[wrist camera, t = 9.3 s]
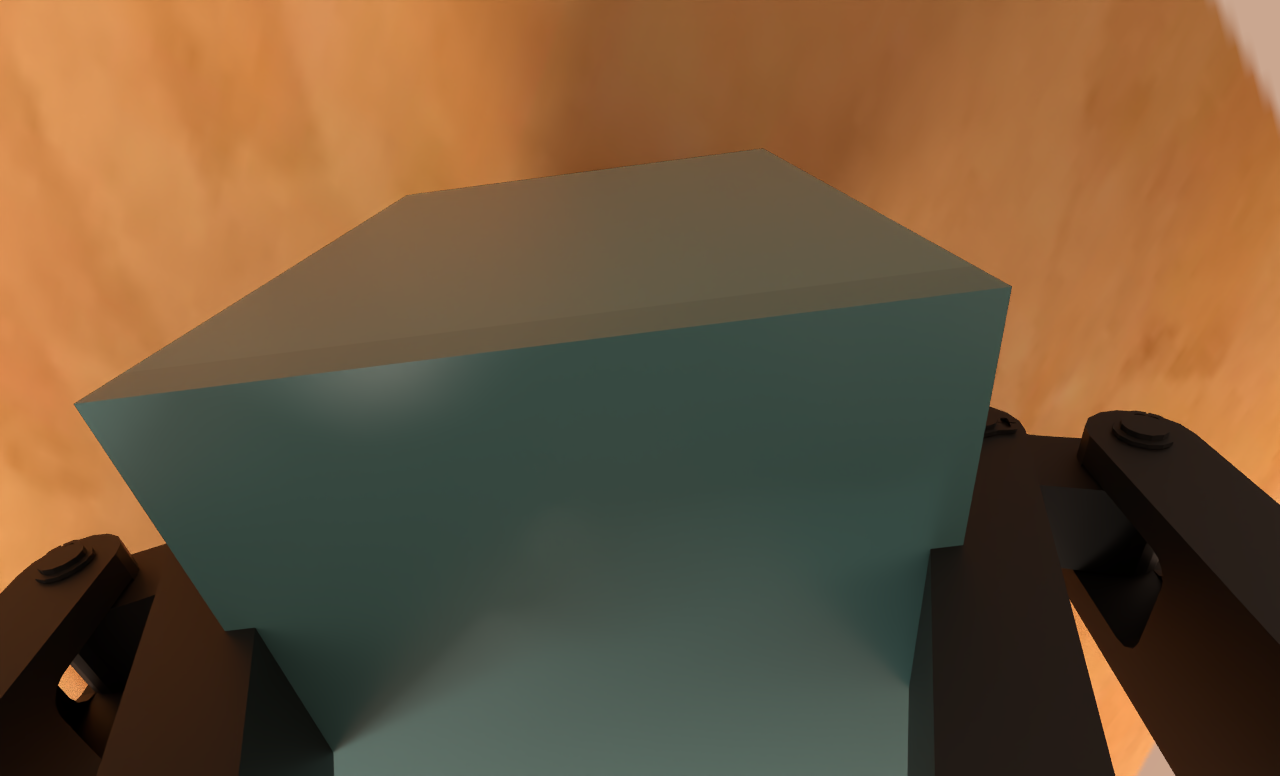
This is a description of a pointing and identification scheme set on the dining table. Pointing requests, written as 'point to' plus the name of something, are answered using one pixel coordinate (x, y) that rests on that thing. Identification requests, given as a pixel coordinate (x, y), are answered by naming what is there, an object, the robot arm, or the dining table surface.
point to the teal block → (582, 471)
